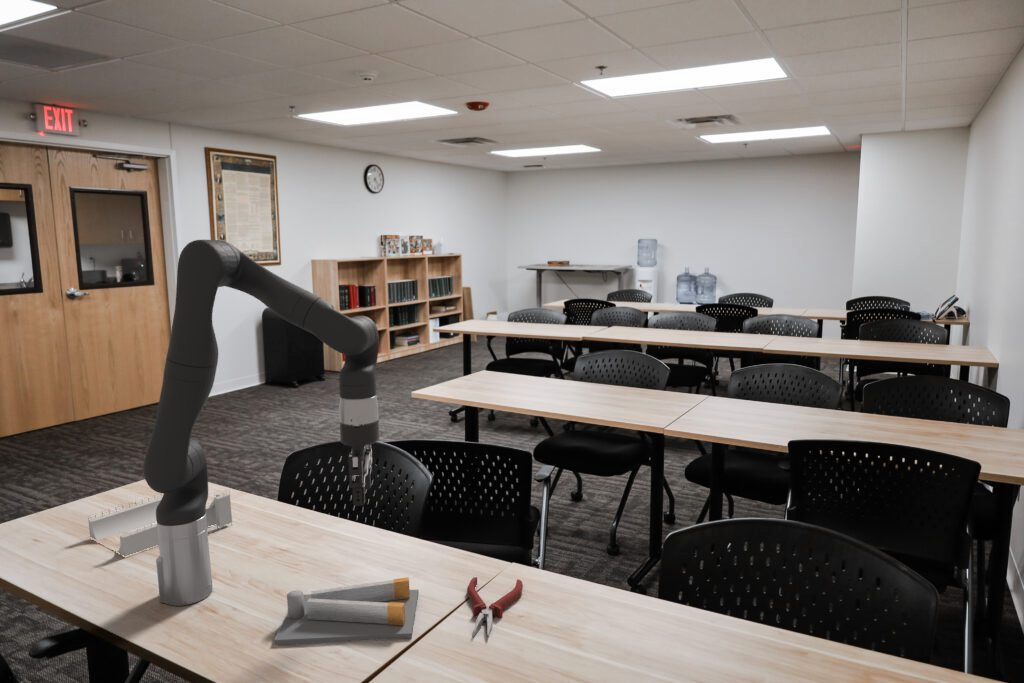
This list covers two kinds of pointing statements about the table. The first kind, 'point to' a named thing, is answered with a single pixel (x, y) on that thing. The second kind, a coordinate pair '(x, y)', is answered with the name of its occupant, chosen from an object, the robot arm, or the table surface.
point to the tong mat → (339, 624)
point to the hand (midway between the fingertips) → (362, 496)
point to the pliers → (495, 607)
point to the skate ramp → (145, 516)
